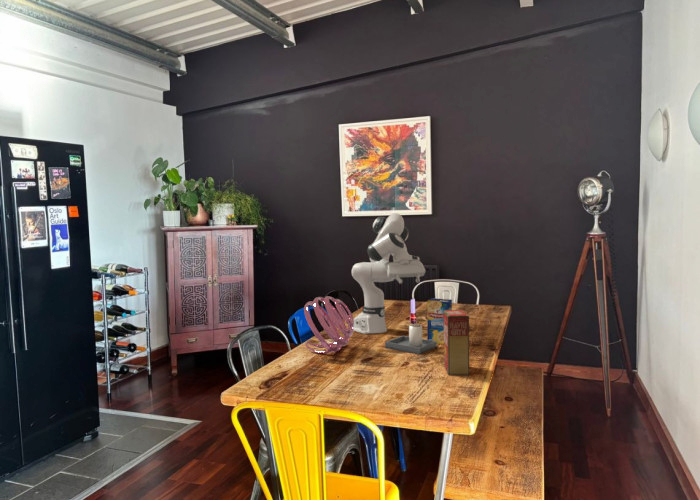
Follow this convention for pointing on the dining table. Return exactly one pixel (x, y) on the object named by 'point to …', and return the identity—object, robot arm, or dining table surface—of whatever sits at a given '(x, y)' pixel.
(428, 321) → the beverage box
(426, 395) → the dining table surface
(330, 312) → the spiral basket
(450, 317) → the food packaging
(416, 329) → the cup
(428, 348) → the tray
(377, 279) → the robot arm
